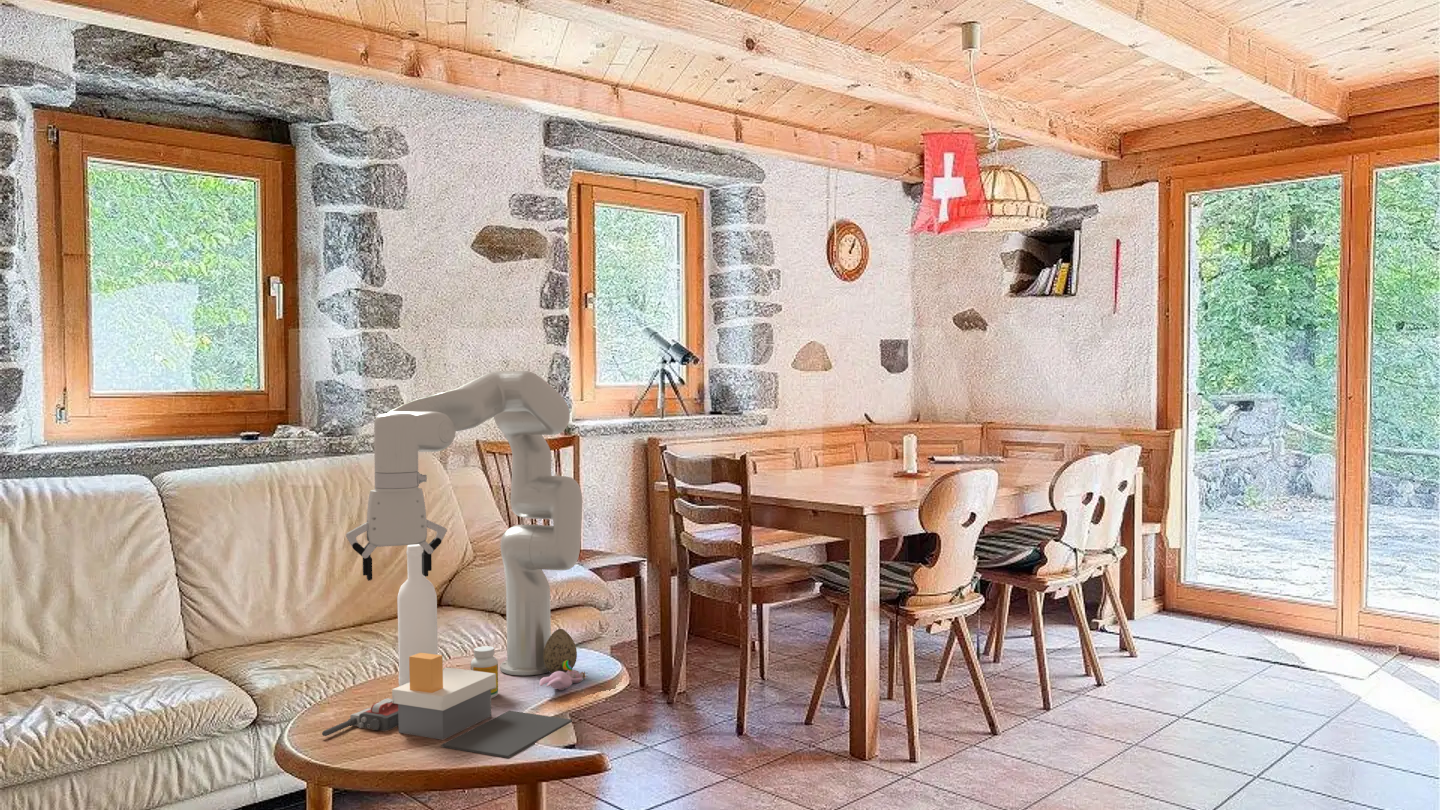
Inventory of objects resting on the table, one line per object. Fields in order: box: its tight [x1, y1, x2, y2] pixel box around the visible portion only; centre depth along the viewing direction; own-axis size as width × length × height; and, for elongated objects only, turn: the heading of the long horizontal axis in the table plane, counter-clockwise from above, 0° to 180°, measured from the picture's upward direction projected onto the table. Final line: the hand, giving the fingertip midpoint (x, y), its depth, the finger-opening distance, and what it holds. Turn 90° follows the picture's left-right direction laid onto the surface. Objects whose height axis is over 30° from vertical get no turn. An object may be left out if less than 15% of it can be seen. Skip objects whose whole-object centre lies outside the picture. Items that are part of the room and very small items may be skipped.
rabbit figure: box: [539, 660, 587, 691], centre depth 215 cm, size 6×6×15 cm
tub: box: [398, 689, 492, 741], centre depth 194 cm, size 14×10×7 cm
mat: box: [440, 710, 573, 759], centre depth 188 cm, size 20×14×1 cm
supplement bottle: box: [470, 645, 499, 699], centre depth 211 cm, size 5×5×10 cm
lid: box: [391, 653, 496, 711], centre depth 193 cm, size 15×11×8 cm
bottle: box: [397, 544, 439, 687], centre depth 215 cm, size 8×8×30 cm
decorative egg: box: [543, 628, 578, 674], centre depth 224 cm, size 7×7×10 cm
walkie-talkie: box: [321, 697, 399, 737], centre depth 194 cm, size 9×4×20 cm
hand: (397, 577), depth 188 cm, fingers open, 9 cm apart
